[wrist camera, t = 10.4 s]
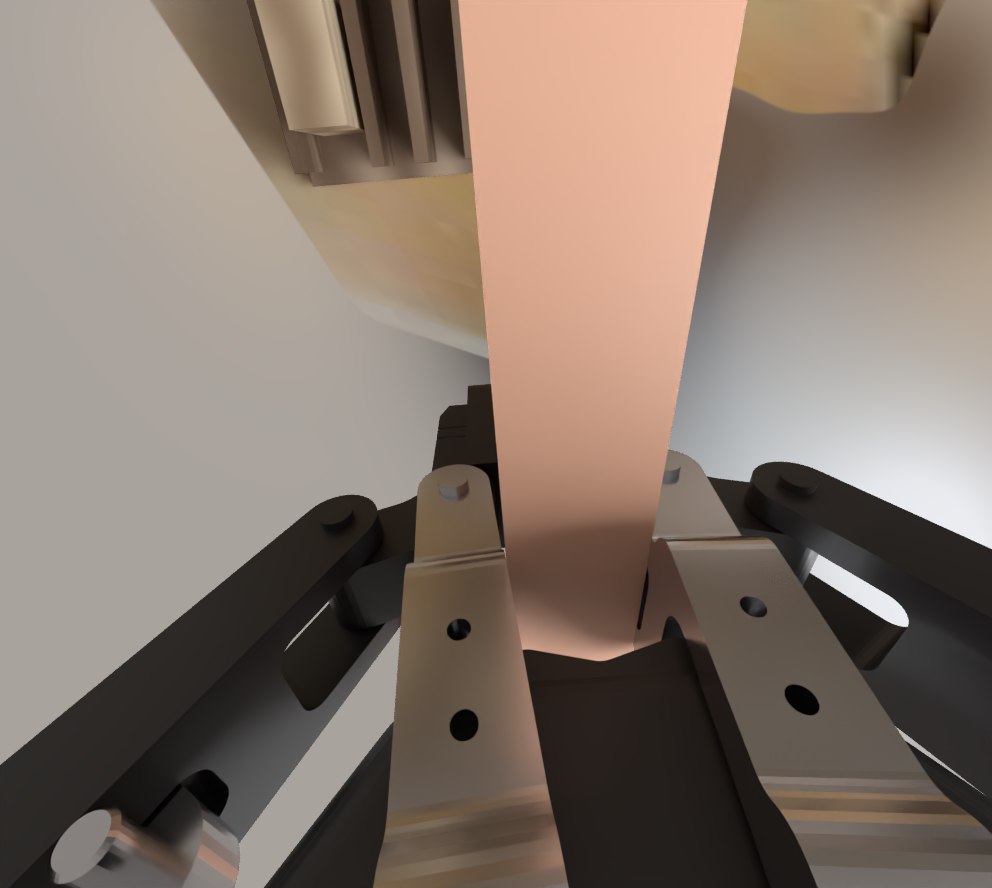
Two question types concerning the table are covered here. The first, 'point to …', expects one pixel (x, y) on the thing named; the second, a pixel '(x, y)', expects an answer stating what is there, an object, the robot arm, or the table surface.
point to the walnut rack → (392, 96)
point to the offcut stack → (312, 65)
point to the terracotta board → (590, 280)
